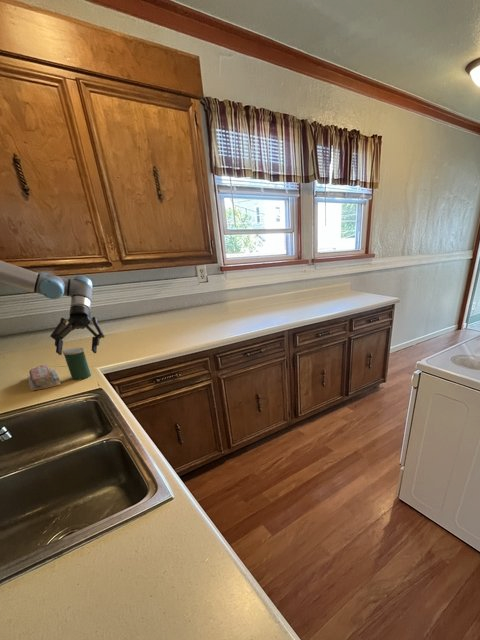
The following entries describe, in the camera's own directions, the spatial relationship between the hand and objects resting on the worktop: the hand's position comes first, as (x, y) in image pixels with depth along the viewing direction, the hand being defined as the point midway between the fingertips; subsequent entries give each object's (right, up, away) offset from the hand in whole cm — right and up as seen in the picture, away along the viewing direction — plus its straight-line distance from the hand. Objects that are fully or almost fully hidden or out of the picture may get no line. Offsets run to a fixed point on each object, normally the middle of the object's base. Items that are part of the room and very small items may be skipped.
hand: (76, 352), depth 137 cm
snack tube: (0, -10, +3) cm, 10 cm away
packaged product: (-12, -12, -2) cm, 17 cm away
